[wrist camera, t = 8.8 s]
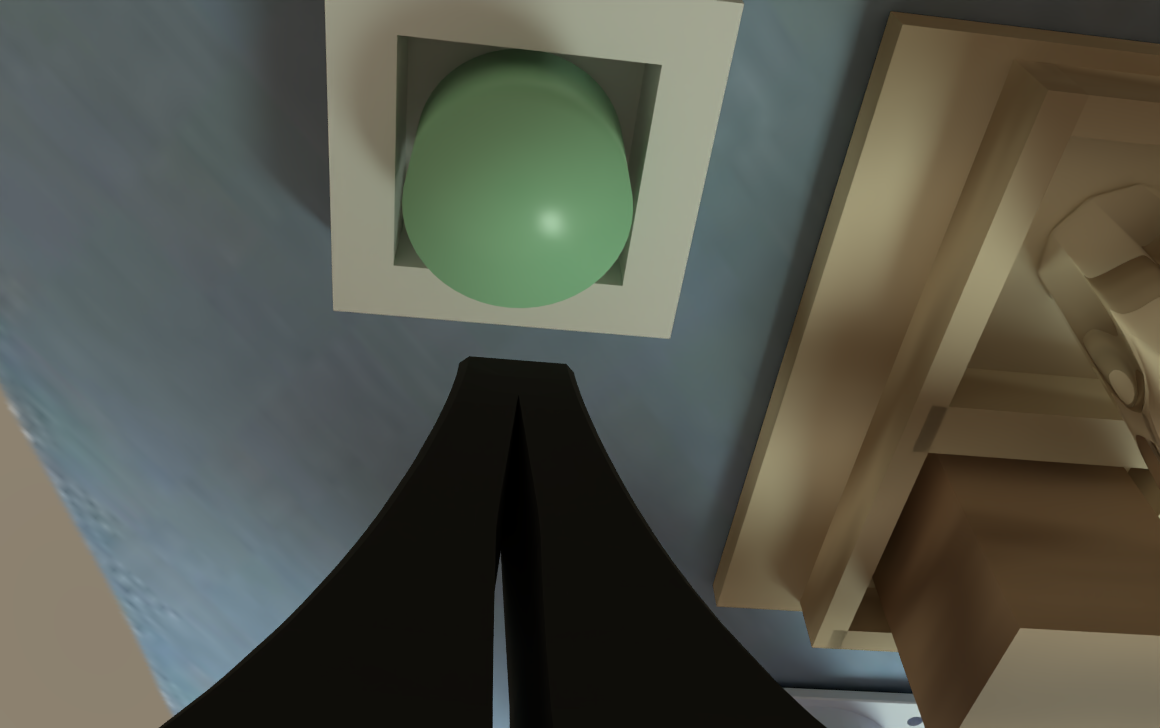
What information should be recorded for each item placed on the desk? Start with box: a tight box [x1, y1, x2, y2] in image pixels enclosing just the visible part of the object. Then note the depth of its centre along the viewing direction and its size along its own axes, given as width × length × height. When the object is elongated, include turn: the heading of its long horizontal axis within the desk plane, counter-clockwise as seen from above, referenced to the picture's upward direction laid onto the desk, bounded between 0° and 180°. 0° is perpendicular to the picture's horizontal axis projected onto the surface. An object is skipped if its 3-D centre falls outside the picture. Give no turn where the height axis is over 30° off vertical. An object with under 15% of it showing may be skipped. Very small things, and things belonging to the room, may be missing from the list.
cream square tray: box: [325, 0, 744, 339], centre depth 19 cm, size 7×7×2 cm
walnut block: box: [872, 453, 1160, 728], centre depth 24 cm, size 5×5×6 cm
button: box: [402, 49, 633, 308], centre depth 18 cm, size 4×4×2 cm
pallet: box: [713, 11, 1160, 652], centre depth 24 cm, size 17×13×2 cm
